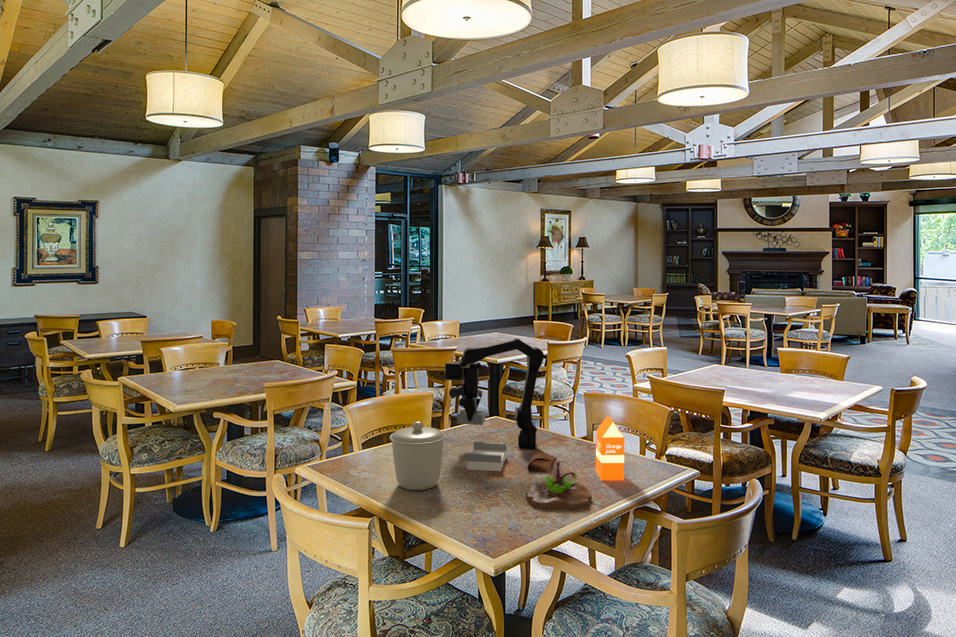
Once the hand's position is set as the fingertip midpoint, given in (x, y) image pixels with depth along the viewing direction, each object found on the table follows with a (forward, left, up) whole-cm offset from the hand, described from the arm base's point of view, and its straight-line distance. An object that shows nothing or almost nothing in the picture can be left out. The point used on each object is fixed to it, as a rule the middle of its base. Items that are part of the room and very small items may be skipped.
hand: (470, 419), depth 246 cm
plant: (-35, +48, -12) cm, 61 cm away
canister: (+10, +44, -12) cm, 47 cm away
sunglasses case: (-29, +16, -12) cm, 35 cm away
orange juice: (-52, +25, -12) cm, 59 cm away
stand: (-9, +18, -11) cm, 23 cm away
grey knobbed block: (0, 0, -1) cm, 1 cm away
